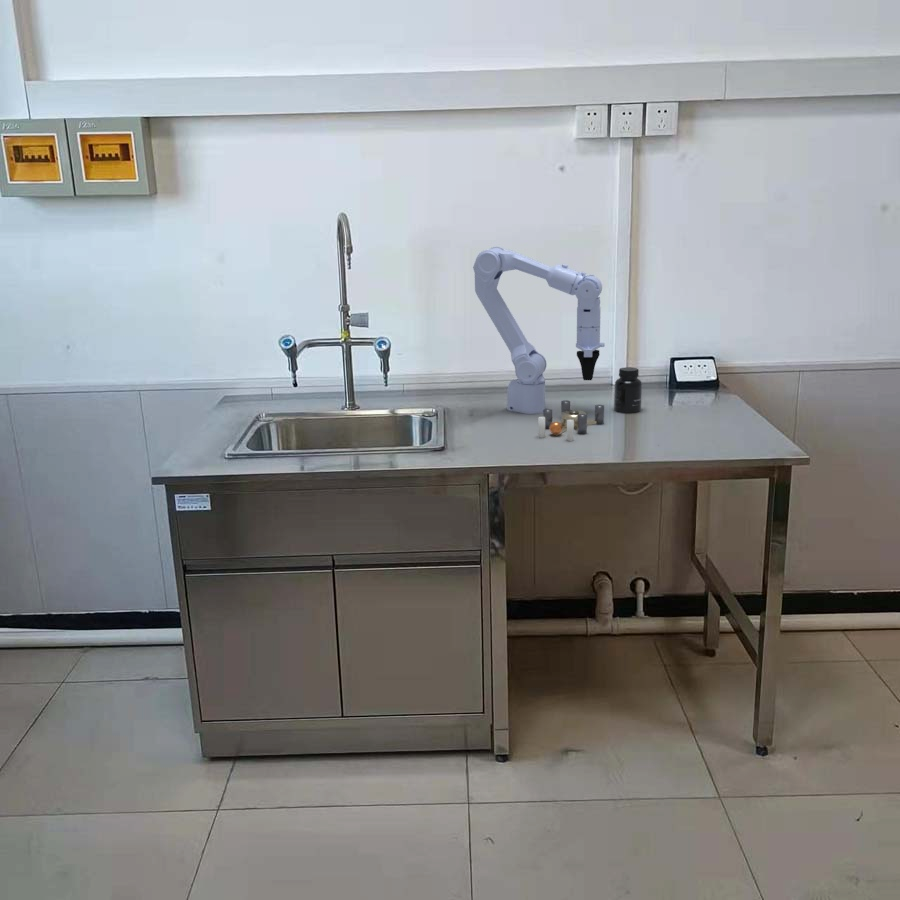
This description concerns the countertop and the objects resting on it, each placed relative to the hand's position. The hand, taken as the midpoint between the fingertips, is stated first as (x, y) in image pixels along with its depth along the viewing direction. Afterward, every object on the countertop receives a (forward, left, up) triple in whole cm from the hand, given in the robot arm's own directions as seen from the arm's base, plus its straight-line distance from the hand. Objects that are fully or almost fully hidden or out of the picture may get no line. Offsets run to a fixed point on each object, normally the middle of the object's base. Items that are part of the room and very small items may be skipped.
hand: (587, 379), depth 222 cm
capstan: (+2, -12, -9) cm, 15 cm away
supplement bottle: (+8, +7, -10) cm, 15 cm away
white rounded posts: (+3, -22, -9) cm, 24 cm away
